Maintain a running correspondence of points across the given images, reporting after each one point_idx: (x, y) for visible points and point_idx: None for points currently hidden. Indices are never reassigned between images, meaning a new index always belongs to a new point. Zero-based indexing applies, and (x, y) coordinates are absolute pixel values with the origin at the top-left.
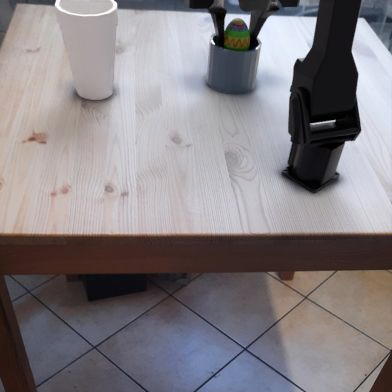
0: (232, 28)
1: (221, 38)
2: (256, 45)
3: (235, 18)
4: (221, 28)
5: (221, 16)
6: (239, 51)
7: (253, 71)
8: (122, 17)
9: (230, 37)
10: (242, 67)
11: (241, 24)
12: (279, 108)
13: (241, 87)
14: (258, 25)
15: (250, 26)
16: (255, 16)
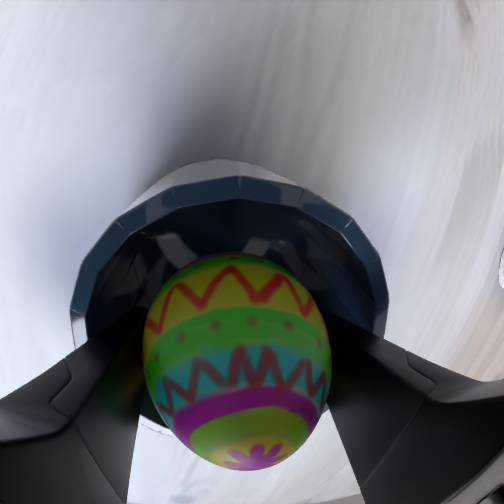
0: (316, 383)
1: (359, 336)
2: (98, 332)
3: (275, 464)
4: (407, 363)
5: (495, 387)
6: (278, 194)
7: (151, 187)
8: (337, 489)
9: (318, 329)
10: (232, 166)
11: (244, 410)
12: (107, 40)
13: (215, 160)
14: (72, 385)
15: (130, 425)
16: (96, 465)
